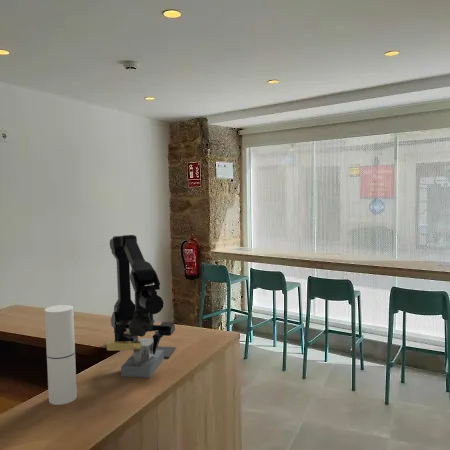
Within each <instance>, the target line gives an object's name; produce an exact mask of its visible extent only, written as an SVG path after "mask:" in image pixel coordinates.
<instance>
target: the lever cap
mask: <svg viewBox="0 0 450 450" xmlns="http://www.w3.org/2000/svg"><path fill="white" fill-rule="evenodd" d="M138 341H141V350H140V352H141V360H150V359H151V358H152V357H153V338H151V337H149V338H147V337H144V338H143V337H142V338H141V337H140V339H138Z"/></svg>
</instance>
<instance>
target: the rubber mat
mask: <svg viewBox="0 0 450 450" xmlns="http://www.w3.org/2000/svg"><path fill="white" fill-rule="evenodd" d="M157 350H164V359H170V357H171V356H172V354H173V353H174V352H175V351H176V346H161V345H158V347H157Z"/></svg>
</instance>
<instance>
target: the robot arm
mask: <svg viewBox="0 0 450 450" xmlns="http://www.w3.org/2000/svg"><path fill="white" fill-rule="evenodd" d="M137 239H138V238H137V235H135V234H124V235H114V236H113V237H112V238H111V239H109V249H110V250H111V254H112V255H113V257H114V258H115V260H116V278H117V282H116V283H117V300H116V302H115V304H114V307H113V311H112V315H111V318H110V325H111V327H112V328H113V333H114V341H139V337H140V338H141V337H142V338H143V337H145V336H146V333H149V332H150V333H151V332H154V334H153V335H152V339H153V355H155V353H156V350H157V347H158V346H159V344H160V342H161V338H163V337H164V336H165V337H166V336H172V334H173V333H174V332H175V331H176V325H175V323H174V321H162V322H161V323H160V324H155V319H154V315H157V314H159V313H160V312H161V311H162V310H163V308H164V300H163V298H162V297H161V296H160V295H158V290H161V287H160V286H161V283H160V280H159V277H158V274H157V272H156V270H155V269H154V267H153V265H152V264H151V263H150V262H148V261H146V260H145V257H144V256H143V253H142V251H141V249H140V246H139V243H138V241H137ZM130 268H131V269H130ZM131 285H132V289H133V291H134V302H133V300H132V297H131V295H132V294H131V292H132V291H131Z"/></svg>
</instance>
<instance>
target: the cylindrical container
mask: <svg viewBox="0 0 450 450" xmlns="http://www.w3.org/2000/svg"><path fill="white" fill-rule="evenodd" d="M74 316H75V315H74V306H73V305H71V304H70V305H69V304H59V305H52V306H47V307H46V308H45V309H44V321H45V322H44V324H45V342H46V344H45V345H46V365H47V367H46V368H47V370H46V371H47V388H48V402H49V404H51V405H54V406H58V405H59V406H61V405H66V404H67V405H68V404H70V403H71V402H73V401H75V400H76V399H77V396H78V395H77V393H78V392H77V372H76V371H77V368H76V347H75V346H76V344H75V343H76V341H75V321H74V318H75V317H74Z"/></svg>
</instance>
